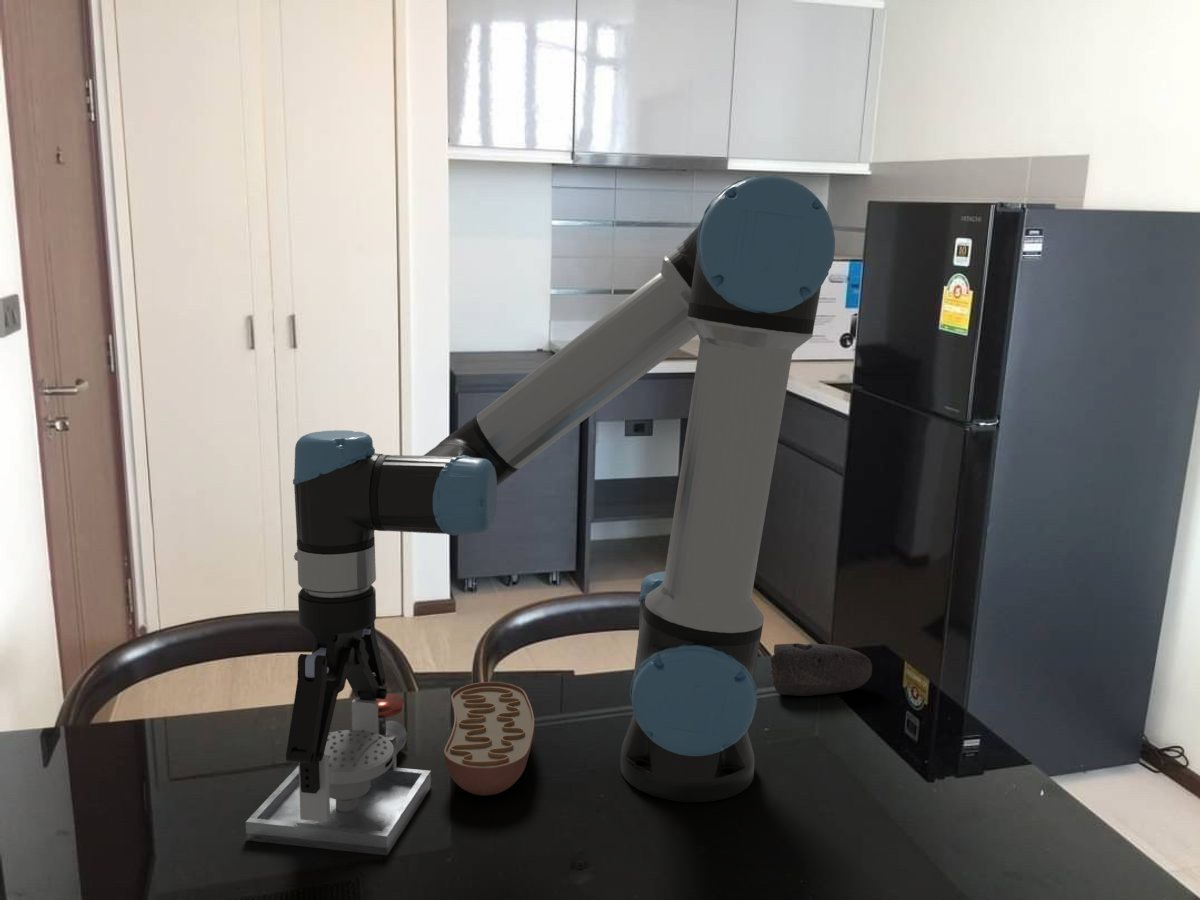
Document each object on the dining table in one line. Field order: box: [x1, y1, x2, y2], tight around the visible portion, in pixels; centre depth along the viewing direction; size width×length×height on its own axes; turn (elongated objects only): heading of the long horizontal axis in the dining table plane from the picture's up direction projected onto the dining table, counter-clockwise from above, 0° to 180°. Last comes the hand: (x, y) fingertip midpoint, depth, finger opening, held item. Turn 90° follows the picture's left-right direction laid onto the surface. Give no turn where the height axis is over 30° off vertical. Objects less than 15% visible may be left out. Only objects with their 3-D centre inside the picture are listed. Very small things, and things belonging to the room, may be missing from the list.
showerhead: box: [324, 728, 394, 812], centre depth 107 cm, size 9×7×10 cm
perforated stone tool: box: [770, 642, 873, 697], centre depth 141 cm, size 15×5×7 cm, turn 99°
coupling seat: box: [245, 692, 432, 856], centre depth 111 cm, size 22×14×7 cm
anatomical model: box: [443, 681, 535, 796], centre depth 120 cm, size 23×10×5 cm, turn 5°
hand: (342, 786), depth 107 cm, fingers open, 12 cm apart
